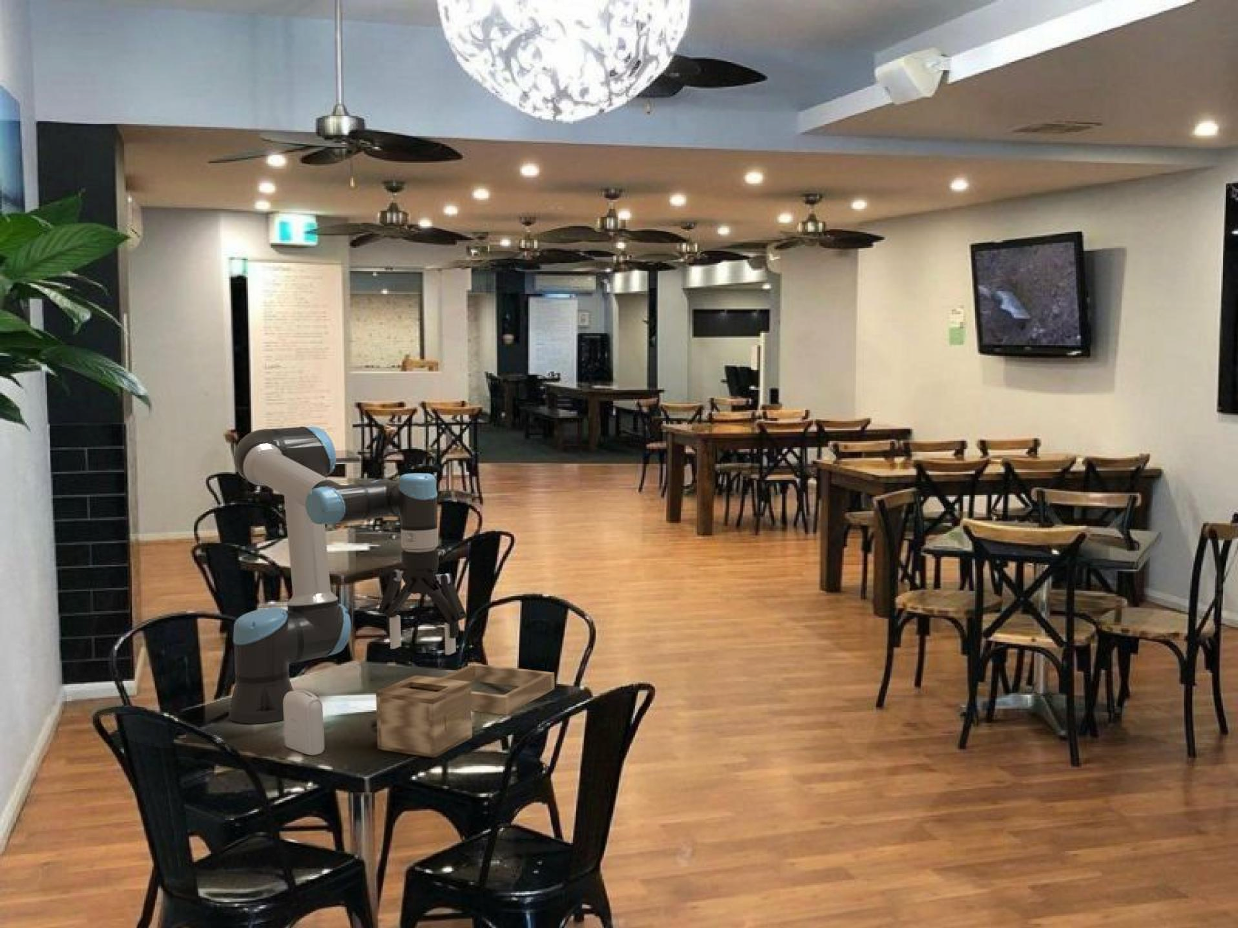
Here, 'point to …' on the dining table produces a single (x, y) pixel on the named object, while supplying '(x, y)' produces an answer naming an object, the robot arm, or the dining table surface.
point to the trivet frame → (526, 680)
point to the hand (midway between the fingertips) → (422, 650)
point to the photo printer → (303, 722)
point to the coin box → (424, 715)
